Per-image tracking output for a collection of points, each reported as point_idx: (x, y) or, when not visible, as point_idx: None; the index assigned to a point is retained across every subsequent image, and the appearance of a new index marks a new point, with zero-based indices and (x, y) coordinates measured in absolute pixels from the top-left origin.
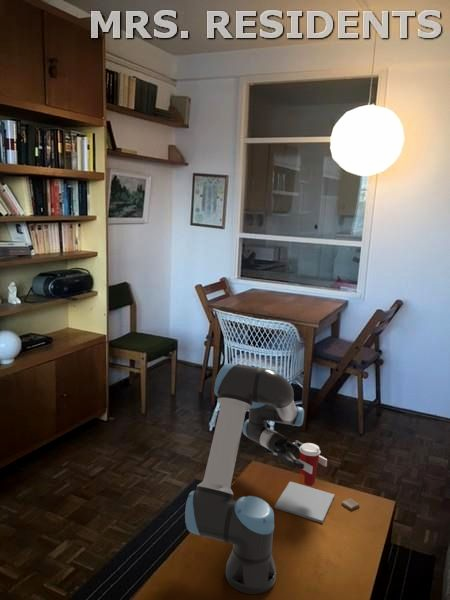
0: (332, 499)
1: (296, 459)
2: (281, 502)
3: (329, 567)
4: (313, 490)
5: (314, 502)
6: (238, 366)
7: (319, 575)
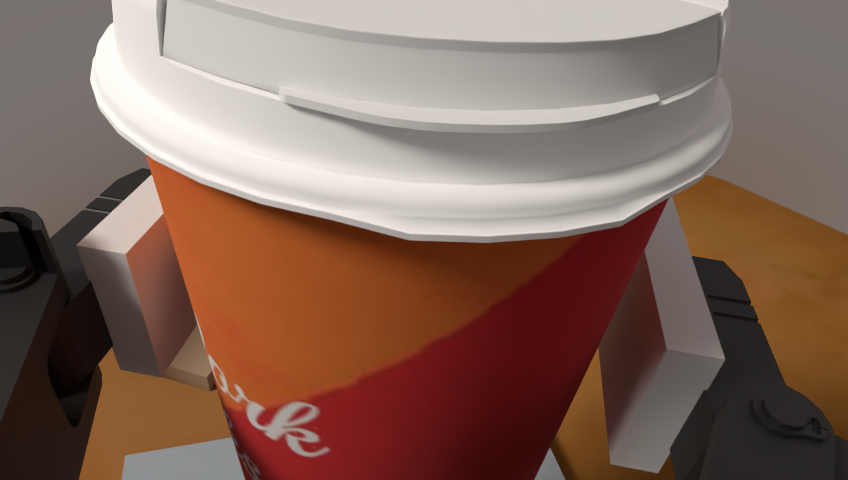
0: (208, 444)
1: (743, 391)
2: None
3: (746, 267)
4: None
5: None
6: None
7: (823, 277)
